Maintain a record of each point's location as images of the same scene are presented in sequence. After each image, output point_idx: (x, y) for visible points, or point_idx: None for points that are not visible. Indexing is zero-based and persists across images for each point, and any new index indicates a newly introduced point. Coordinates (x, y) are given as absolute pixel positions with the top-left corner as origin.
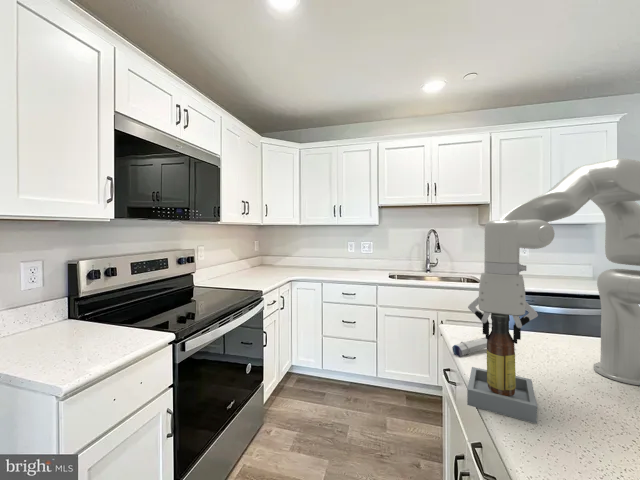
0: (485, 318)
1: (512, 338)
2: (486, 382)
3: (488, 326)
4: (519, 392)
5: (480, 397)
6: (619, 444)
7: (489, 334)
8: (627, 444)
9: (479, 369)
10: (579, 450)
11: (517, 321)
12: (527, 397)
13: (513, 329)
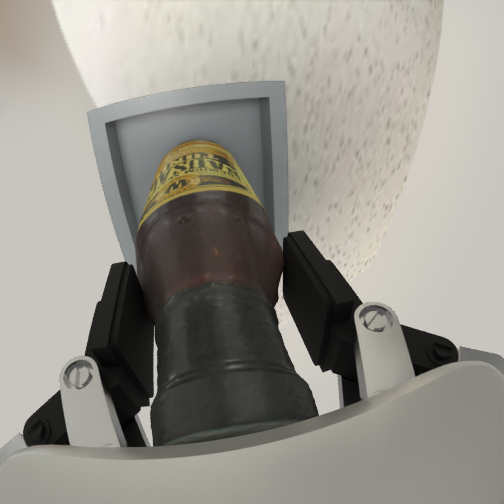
0: (132, 439)
1: (281, 273)
2: (145, 113)
3: (151, 388)
4: (241, 116)
5: None
6: (384, 204)
7: (149, 319)
8: (394, 196)
9: (113, 113)
10: (327, 259)
11: (357, 400)
12: (263, 145)
13: (310, 292)
